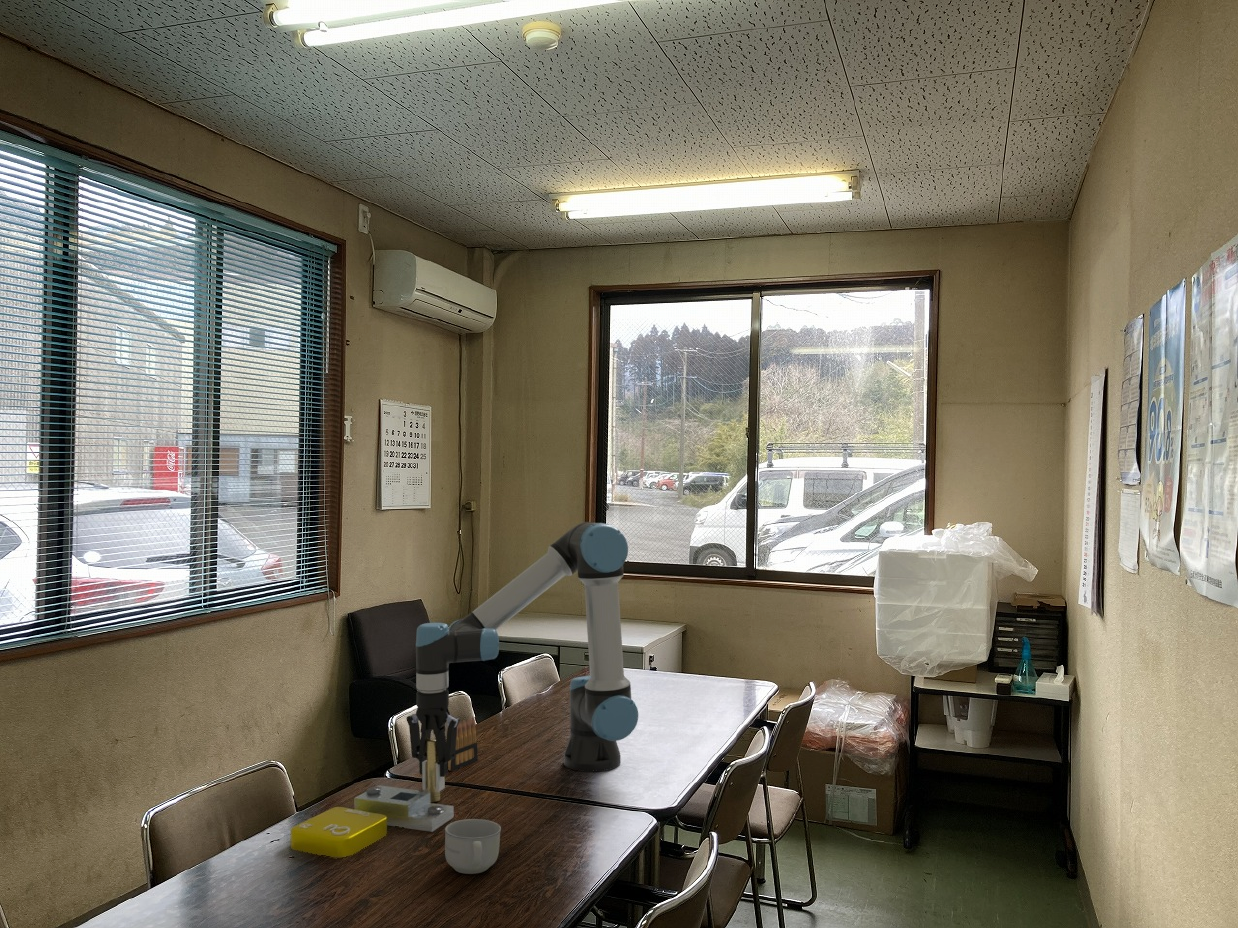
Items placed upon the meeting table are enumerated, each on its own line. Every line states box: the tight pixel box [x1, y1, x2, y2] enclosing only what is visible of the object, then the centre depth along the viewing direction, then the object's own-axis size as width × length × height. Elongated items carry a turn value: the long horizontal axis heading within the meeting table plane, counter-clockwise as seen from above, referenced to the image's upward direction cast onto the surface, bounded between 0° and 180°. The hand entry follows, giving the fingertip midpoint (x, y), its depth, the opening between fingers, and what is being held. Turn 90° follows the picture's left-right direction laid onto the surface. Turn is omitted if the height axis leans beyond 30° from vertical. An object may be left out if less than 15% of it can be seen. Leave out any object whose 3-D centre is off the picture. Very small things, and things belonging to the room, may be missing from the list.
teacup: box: [444, 818, 502, 875], centre depth 177 cm, size 14×11×8 cm
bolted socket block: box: [353, 784, 455, 833], centre depth 204 cm, size 20×9×6 cm, turn 70°
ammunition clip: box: [447, 716, 479, 772], centre depth 243 cm, size 11×2×12 cm, turn 149°
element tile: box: [290, 806, 388, 858], centre depth 192 cm, size 15×15×5 cm
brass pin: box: [426, 737, 441, 803], centre depth 216 cm, size 3×3×14 cm
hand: (433, 788), depth 216 cm, fingers closed on brass pin, 3 cm apart
